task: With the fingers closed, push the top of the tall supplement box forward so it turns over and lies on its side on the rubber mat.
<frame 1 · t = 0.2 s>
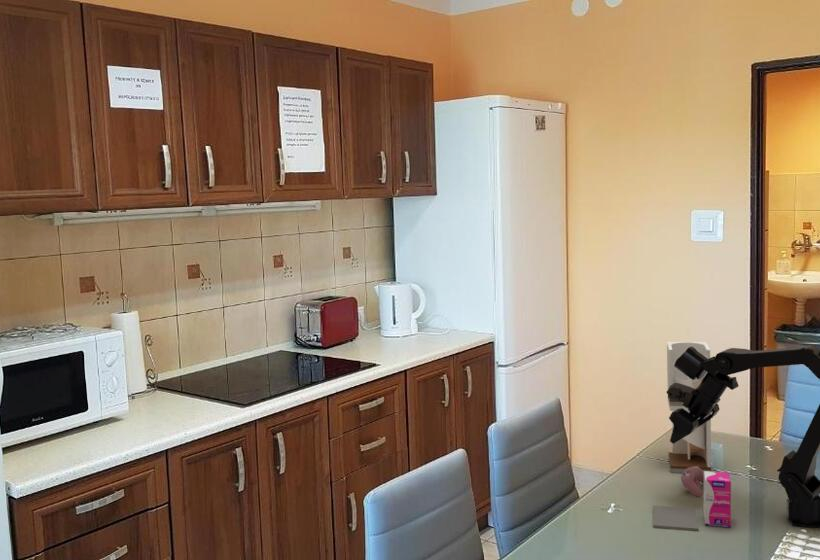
hand: (678, 437, 200), 15 cm above the table, tool tilted 30°, fingers open, 9 cm apart
display case: (689, 467, 220), on the table
rubber mat: (674, 518, 185), on the table
video game controller: (696, 491, 202), on the table
supplement box: (717, 523, 182), on the table
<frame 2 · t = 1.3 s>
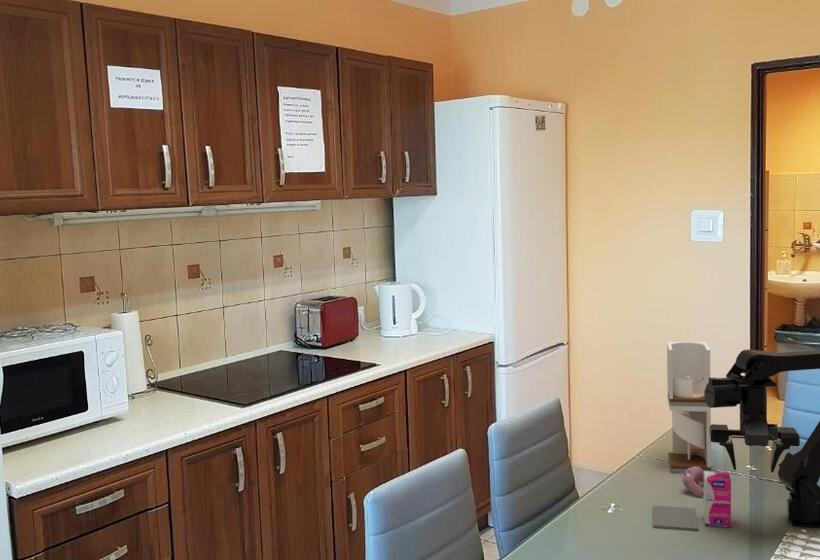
hand: (753, 470, 179), 13 cm above the table, tool pointing down, fingers open, 8 cm apart
nothing on the table moved.
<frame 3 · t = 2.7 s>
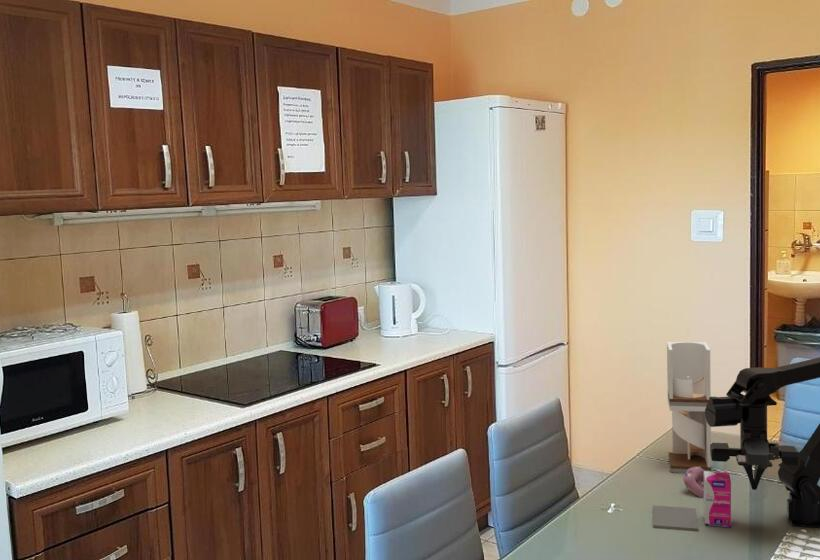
hand: (754, 489, 179), 9 cm above the table, tool pointing down, fingers closed
nothing on the table moved.
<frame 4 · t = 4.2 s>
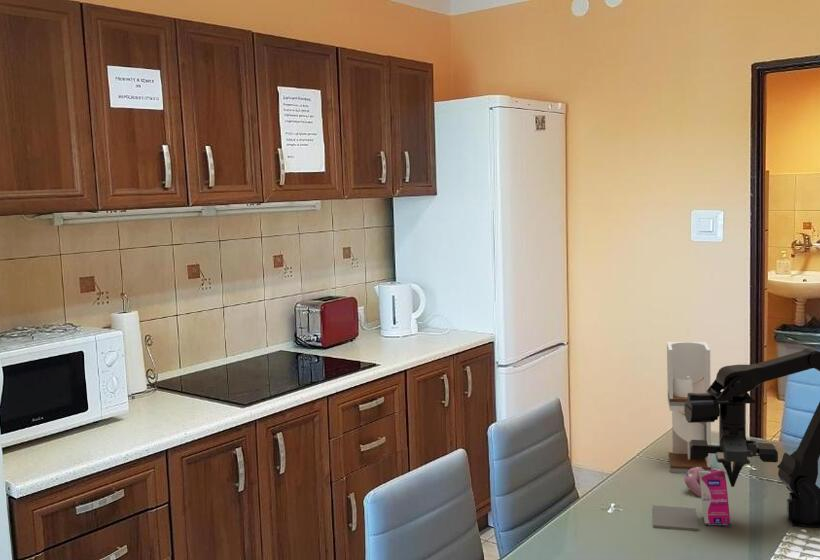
hand: (732, 486, 181), 9 cm above the table, tool pointing down, fingers closed
supplement box: (717, 521, 182), on the table, touching gripper
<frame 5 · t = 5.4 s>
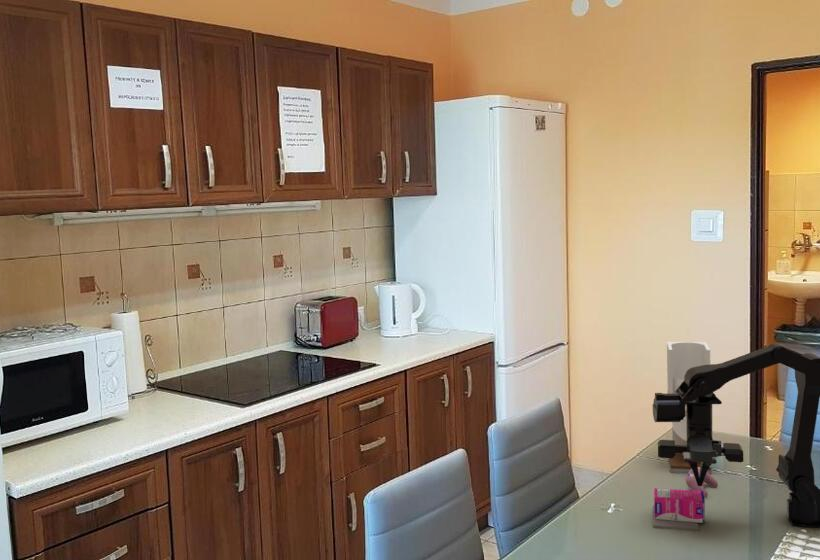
hand: (699, 485, 183), 9 cm above the table, tool pointing down, fingers closed
supplement box: (705, 506, 183), point 4 cm above the table, touching rubber mat
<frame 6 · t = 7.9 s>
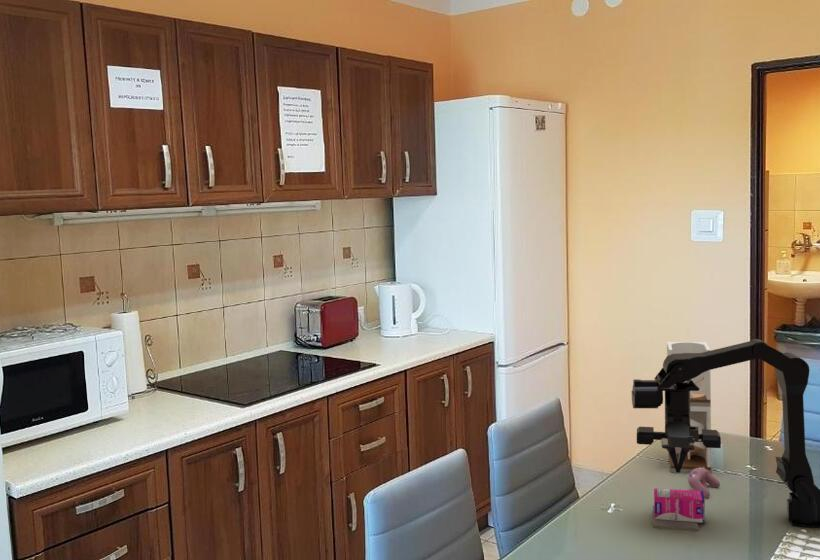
hand: (677, 471, 184), 12 cm above the table, tool pointing down, fingers closed
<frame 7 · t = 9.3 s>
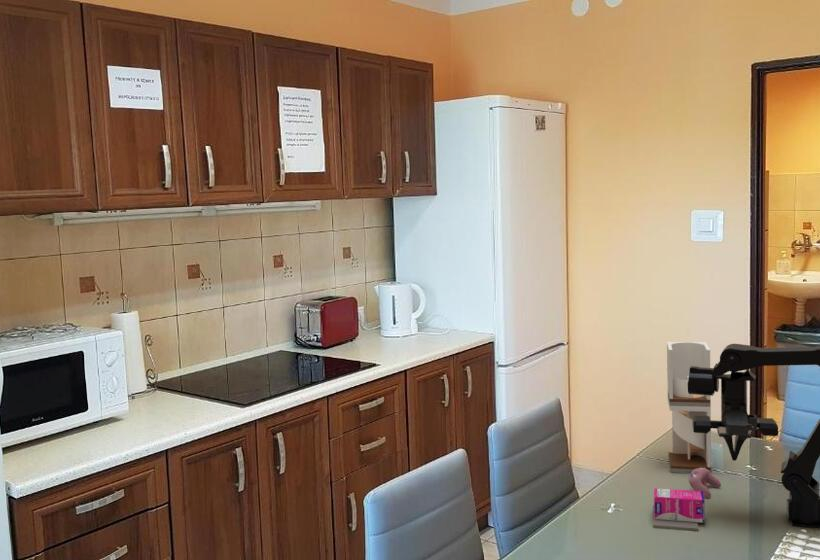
hand: (734, 460, 186), 13 cm above the table, tool pointing down, fingers closed
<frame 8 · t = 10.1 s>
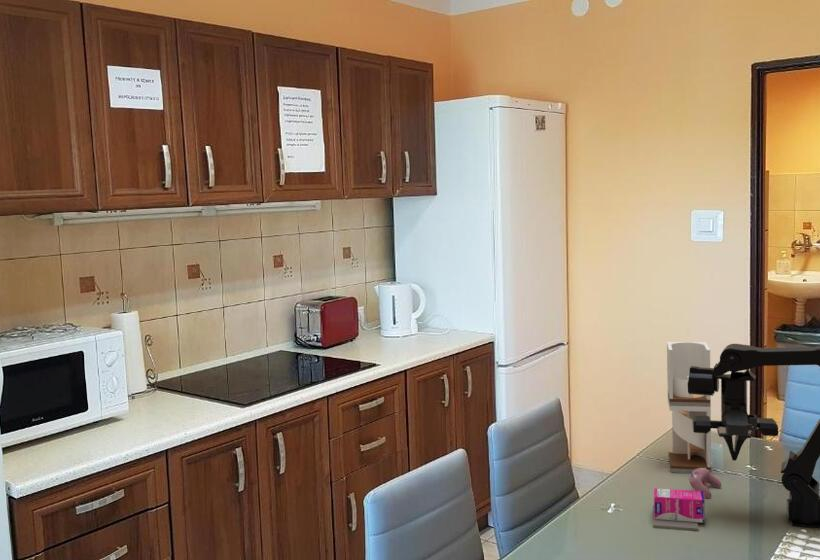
hand: (734, 460, 186), 13 cm above the table, tool pointing down, fingers closed
at the end: supplement box tilted 91°; supplement box touching rubber mat; the gripper is holding nothing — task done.
